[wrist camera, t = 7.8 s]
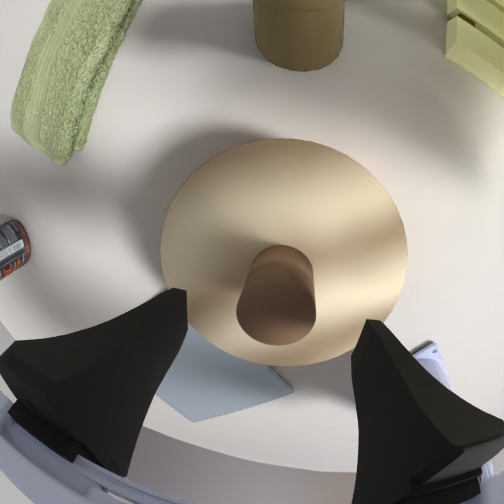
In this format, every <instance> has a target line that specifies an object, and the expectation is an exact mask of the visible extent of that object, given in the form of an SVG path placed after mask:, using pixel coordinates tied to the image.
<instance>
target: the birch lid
mask: <svg viewBox="0 0 504 504" xmlns="http://www.w3.org/2000/svg"><path fill="white" fill-rule="evenodd" d="M160 257H161V266H162V272H163V276H164V280H165V283H166V286H167V289H168V290H169V289H171V288H178V289H183V290H187V317H188V323H189V324H190V325H191V326H192V327H193V328H194V329H195V330H196V331H197V332H198V333H199V334H200V335H201V336H203V337H204V338H205V339H206V340H207V341H209V342H210V343H212V344H213V345H215V346H216V347H218V348H220V349H221V350H223V351H225V352H227V353H229V354H231V355H233V356H236V357H238V358H241V359H244V360H247V361H250V362H254V363H258V364H263V365H270V366H282V367H291V366H304V365H311V364H316V363H319V362H323V361H327V360H330V359H332V358H335V357H338V356H340V355H342V354H344V353H346V352H348V351H350V350H352V349H353V348H355V346H356V344H357V341H358V339H359V337H360V334H361V332H362V329H363V327H364V324H365V322H366V319H372V320H380V321H381V322H382V323H383V322H384V321H385V320H386V318H387V317H388V315H389V314H390V313H391V311H392V309H393V307H394V306H395V304H396V302H397V300H398V298H399V295H400V293H401V290H402V287H403V284H404V280H405V275H406V271H407V258H408V253H407V239H406V235H405V230H404V226H403V222H402V220H401V217H400V215H399V212H398V209H397V207H396V206H395V204H394V202H393V200H392V199H391V197H390V195H389V193H388V192H387V191H386V189H385V188H384V187H383V186H382V184H381V183H380V182H379V181H378V180H377V178H376V177H374V176H373V175H372V174H371V173H370V172H369V171H368V170H367V169H366V168H365V167H364V166H362V165H361V164H359V163H358V162H356V161H355V160H353V159H352V158H350V157H349V156H347V155H345V154H343V153H341V152H339V151H337V150H335V149H333V148H330V147H327V146H324V145H321V144H318V143H314V142H311V141H304V140H298V139H265V140H259V141H252V142H249V143H246V144H242V145H239V146H236V147H233V148H231V149H229V150H227V151H225V152H222V153H220V154H218V155H216V156H215V157H213V158H212V159H210V160H209V161H207V162H206V163H205V164H203V165H202V166H201V167H200V168H198V169H197V170H196V171H195V172H194V173H193V174H192V175H191V176H190V177H189V178H188V179H187V180H186V182H185V183H184V184H183V185H182V187H181V188H180V189H179V191H178V192H177V194H176V196H175V197H174V199H173V201H172V202H171V204H170V207H169V209H168V212H167V214H166V217H165V220H164V224H163V228H162V233H161V243H160Z"/></svg>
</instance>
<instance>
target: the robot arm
mask: <svg viewBox="0 0 504 504" xmlns="http://www.w3.org/2000/svg"><path fill="white" fill-rule="evenodd" d="M187 331H188V317H187V290H183V289H178V288H171V289H169V290H167V291H165V292H163V293H161V294H159V295H158V296H156V297H154V298H152V299H151V300H149V301H147V302H145V303H143V304H141V305H140V306H138V307H136V308H134V309H132V310H130V311H128V312H126V313H124V314H122V315H120V316H118V317H116V318H114V319H111V320H109V321H107V322H104V323H102V324H99V325H96V326H94V327H91V328H88V329H84V330H81V331H77V332H74V333H70V334H66V335H61V336H56V337H50V338H44V339H34V340H19V341H15V342H14V343H13V344H12V345H11V346H10V347H9V348H8V349H7V350H6V351H5V352H4V353H3V354H2V355H1V356H0V374H1V376H2V377H3V379H4V381H5V382H6V384H7V385H8V387H9V388H10V390H11V391H12V393H13V394H14V395H15V397H16V398H17V401H16V402H15V403H14V404H13V403H12V402H11V401H10V399H9V398H8V397H7V396H5V395H4V394H3V393H2V392H1V391H0V470H1V471H2V472H3V473H4V474H5V475H6V476H7V477H8V478H9V479H10V481H12V483H13V484H14V485H15V486H16V487H17V488H18V489H19V490H20V491H21V492H22V493H23V494H24V495H25V496H27V497H28V498H29V499H30V500H31V501H32V502H33V503H34V504H126V503H124V502H122V501H120V500H118V499H116V498H114V497H113V496H111V495H109V494H108V492H110V493H112V494H114V495H116V496H118V497H121V498H123V499H125V500H127V501H130V502H132V503H134V504H195V503H192V502H188V501H184V500H181V499H178V498H175V497H172V496H168V495H166V494H162V493H160V492H157V491H154V490H152V489H149V488H146V487H144V486H141V485H139V484H136V483H134V482H132V481H129V480H127V479H125V478H124V477H126V476H127V474H128V469H129V466H130V462H131V458H132V455H133V451H134V448H135V445H136V442H137V438H138V436H139V433H140V430H141V427H142V425H143V422H144V419H145V417H146V414H147V411H148V409H149V407H150V404H151V402H152V399H153V397H154V395H155V393H156V391H157V389H158V387H159V386H160V384H161V382H162V380H163V379H164V377H165V375H166V373H167V372H168V370H169V368H170V367H171V365H172V363H173V361H174V360H175V358H176V356H177V354H178V352H179V351H180V349H181V346H182V344H183V341H184V339H185V336H186V334H187ZM351 370H352V383H353V389H354V396H355V403H356V410H357V418H358V428H359V445H358V463H357V474H356V482H355V489H354V494H353V500H352V504H504V471H502V472H500V473H498V474H496V475H494V476H493V472H494V471H493V466H492V463H491V459H492V458H493V457H494V456H495V455H496V454H498V453H499V452H500V451H501V450H502V449H503V448H504V421H503V420H502V419H499V418H497V417H495V416H493V415H490V414H488V413H486V412H484V411H482V410H480V409H478V408H477V407H475V406H473V405H471V404H470V403H468V402H466V401H465V400H463V399H462V398H460V397H459V396H457V395H456V394H455V393H453V392H452V390H451V388H450V386H451V383H450V379H449V376H448V373H447V371H446V368H445V365H444V362H443V359H442V357H441V354H440V351H439V349H438V346H437V344H436V343H432V344H430V345H428V346H427V347H425V348H423V349H422V350H420V351H418V352H417V353H415V354H413V355H411V354H410V352H409V351H408V350H407V349H406V348H405V347H404V346H403V345H402V344H401V342H400V341H399V340H398V339H397V338H396V337H395V336H394V334H393V333H392V332H391V331H390V330H389V329H388V328H387V327H386V326H385V325H384V324H383V323H382V322H381V321H380V320H372V319H366V322H365V324H364V327H363V329H362V332H361V334H360V337H359V339H358V341H357V344H356V346H355V349H354V351H353V353H352V355H351ZM107 491H108V492H107Z"/></svg>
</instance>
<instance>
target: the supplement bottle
mask: <svg viewBox="0 0 504 504" xmlns="http://www.w3.org/2000/svg"><path fill="white" fill-rule="evenodd" d="M29 258H30V243H29V239H28V236H27V233H26V231H25V230H24V228H23V226H22V225H21V224H20V223H19V222H18V221H16V220H11V221H8V222H6V223H4V224H2V225H0V280H2V279H3V278H5V277H6V276H7V275H9V274H11V273H12V272H13V271H15V270H16V269H18V268H20V267H21V266H23V265H24V264H25V263H27V262H28V260H29Z"/></svg>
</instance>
